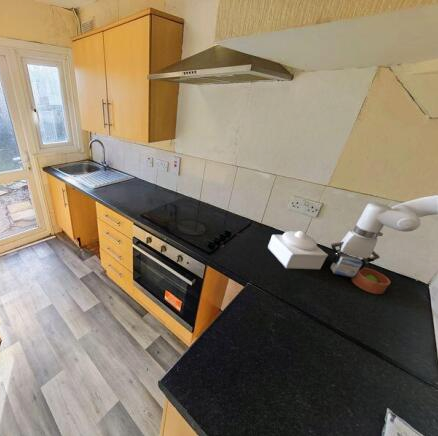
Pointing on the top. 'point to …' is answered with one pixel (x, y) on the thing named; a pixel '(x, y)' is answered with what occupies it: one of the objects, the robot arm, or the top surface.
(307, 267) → the butter dish
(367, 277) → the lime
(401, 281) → the top surface
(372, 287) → the bowl
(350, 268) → the medicine box
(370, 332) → the top surface
